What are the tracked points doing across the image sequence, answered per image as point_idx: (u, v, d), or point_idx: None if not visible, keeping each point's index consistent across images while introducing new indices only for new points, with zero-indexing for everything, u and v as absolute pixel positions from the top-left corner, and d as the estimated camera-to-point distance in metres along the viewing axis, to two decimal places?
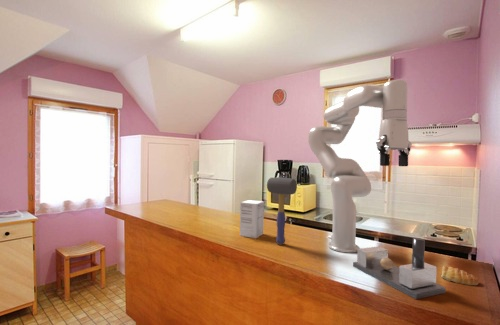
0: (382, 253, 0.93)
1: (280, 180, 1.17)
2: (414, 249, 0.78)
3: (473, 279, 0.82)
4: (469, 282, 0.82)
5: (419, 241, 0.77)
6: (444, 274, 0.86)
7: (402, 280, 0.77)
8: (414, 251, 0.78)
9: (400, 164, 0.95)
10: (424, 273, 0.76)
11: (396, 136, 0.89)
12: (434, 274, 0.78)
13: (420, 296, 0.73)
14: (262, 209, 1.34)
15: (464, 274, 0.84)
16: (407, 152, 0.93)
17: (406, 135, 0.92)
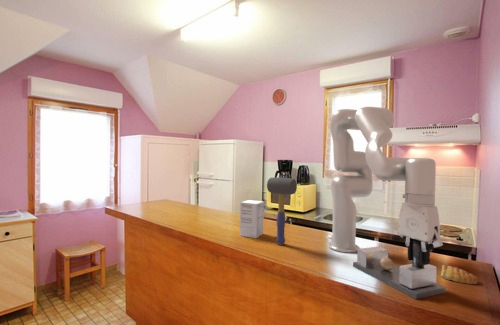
0: (382, 253, 0.93)
1: (280, 180, 1.17)
2: (414, 249, 0.78)
3: (472, 278, 0.83)
4: (469, 281, 0.83)
5: (419, 241, 0.77)
6: (444, 273, 0.86)
7: (402, 280, 0.77)
8: (414, 251, 0.78)
9: (411, 258, 0.79)
10: (424, 273, 0.76)
11: None
12: (434, 274, 0.78)
13: (420, 296, 0.73)
14: (262, 209, 1.34)
15: (463, 273, 0.84)
16: None
17: None
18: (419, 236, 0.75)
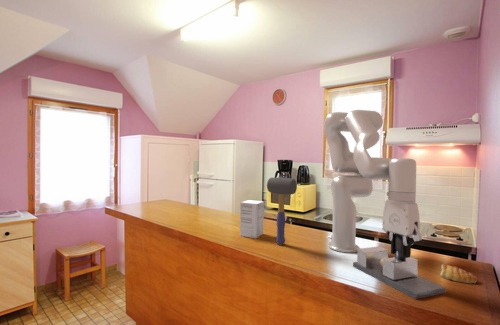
0: (382, 253, 0.93)
1: (280, 180, 1.17)
2: (396, 243, 0.83)
3: (472, 277, 0.83)
4: (468, 280, 0.83)
5: (401, 236, 0.83)
6: (443, 273, 0.86)
7: (385, 272, 0.83)
8: (396, 245, 0.83)
9: (394, 252, 0.85)
10: (405, 265, 0.82)
11: None
12: (415, 266, 0.83)
13: (420, 296, 0.73)
14: (262, 209, 1.34)
15: (463, 272, 0.85)
16: None
17: None
18: (400, 231, 0.81)
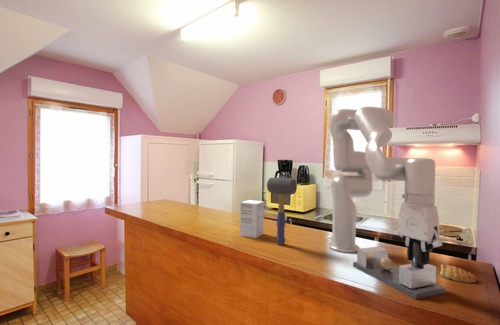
0: (382, 253, 0.93)
1: (280, 180, 1.17)
2: (414, 249, 0.78)
3: (471, 276, 0.84)
4: (468, 279, 0.84)
5: (419, 241, 0.77)
6: (443, 272, 0.87)
7: (402, 280, 0.78)
8: (414, 251, 0.78)
9: (411, 258, 0.80)
10: (423, 273, 0.76)
11: None
12: (434, 274, 0.78)
13: (420, 296, 0.73)
14: (262, 209, 1.34)
15: (462, 272, 0.85)
16: None
17: None
18: (419, 236, 0.75)
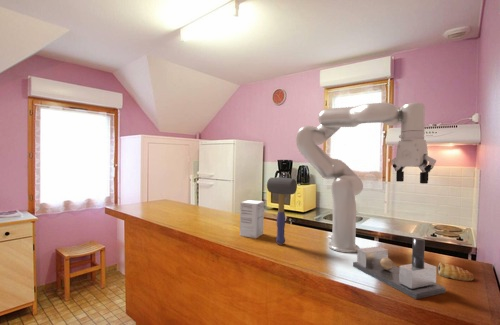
0: (382, 253, 0.93)
1: (280, 180, 1.17)
2: (414, 249, 0.78)
3: (469, 275, 0.85)
4: (466, 277, 0.85)
5: (419, 241, 0.77)
6: (442, 271, 0.88)
7: (402, 280, 0.77)
8: (414, 251, 0.78)
9: (399, 179, 1.03)
10: (424, 273, 0.76)
11: None
12: (434, 274, 0.78)
13: (420, 296, 0.73)
14: (262, 209, 1.34)
15: (460, 270, 0.87)
16: None
17: None
18: (412, 163, 0.96)
